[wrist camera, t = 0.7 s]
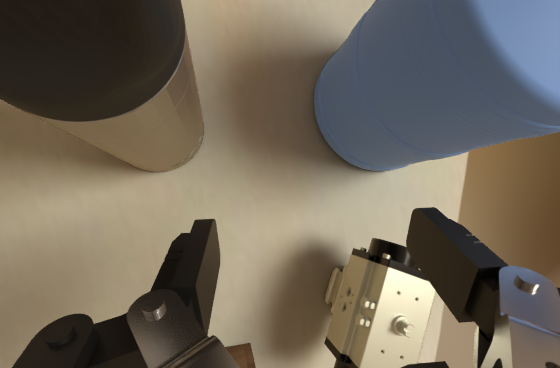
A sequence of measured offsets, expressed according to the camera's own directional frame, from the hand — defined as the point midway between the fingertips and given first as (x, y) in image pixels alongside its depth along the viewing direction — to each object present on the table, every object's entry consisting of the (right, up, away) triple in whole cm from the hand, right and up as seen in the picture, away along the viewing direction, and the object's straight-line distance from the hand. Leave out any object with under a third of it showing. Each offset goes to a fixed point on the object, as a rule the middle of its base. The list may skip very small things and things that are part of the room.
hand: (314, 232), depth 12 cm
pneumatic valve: (+5, -10, +21) cm, 24 cm away
